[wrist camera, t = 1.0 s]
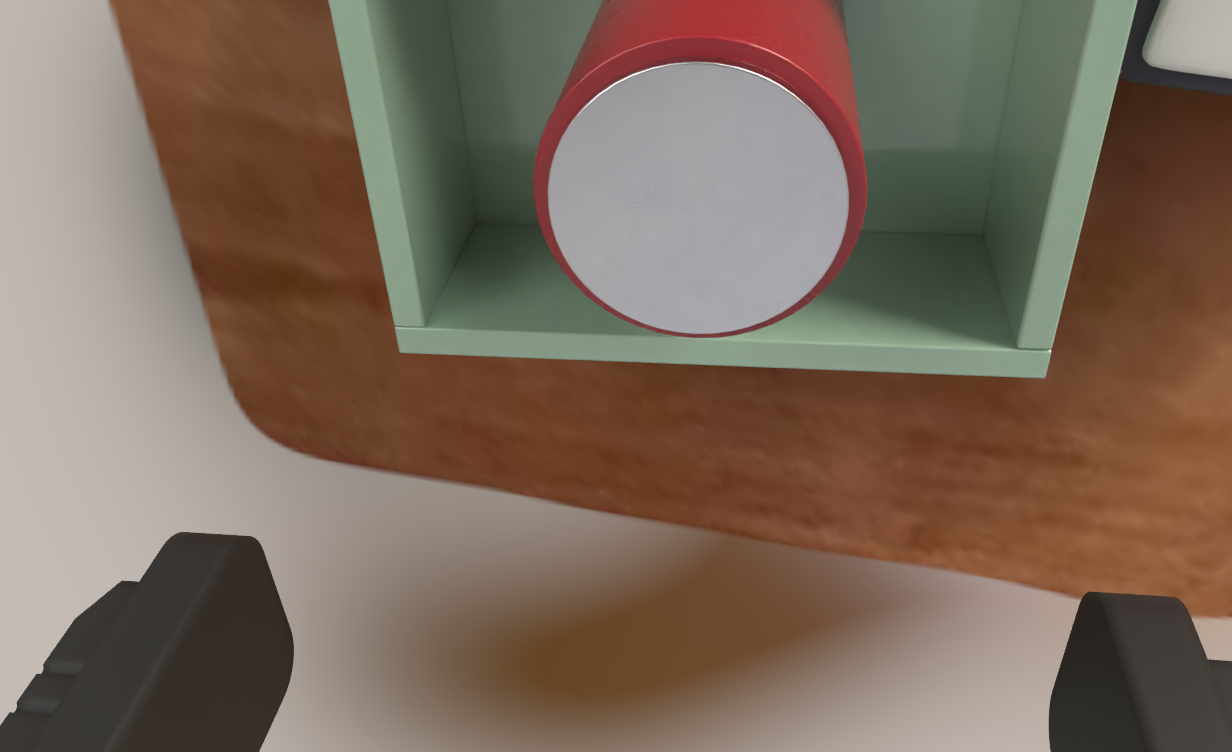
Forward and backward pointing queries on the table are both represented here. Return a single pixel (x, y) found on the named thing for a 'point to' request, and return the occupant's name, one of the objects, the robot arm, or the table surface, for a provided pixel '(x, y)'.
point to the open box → (894, 159)
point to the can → (705, 162)
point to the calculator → (1181, 45)
